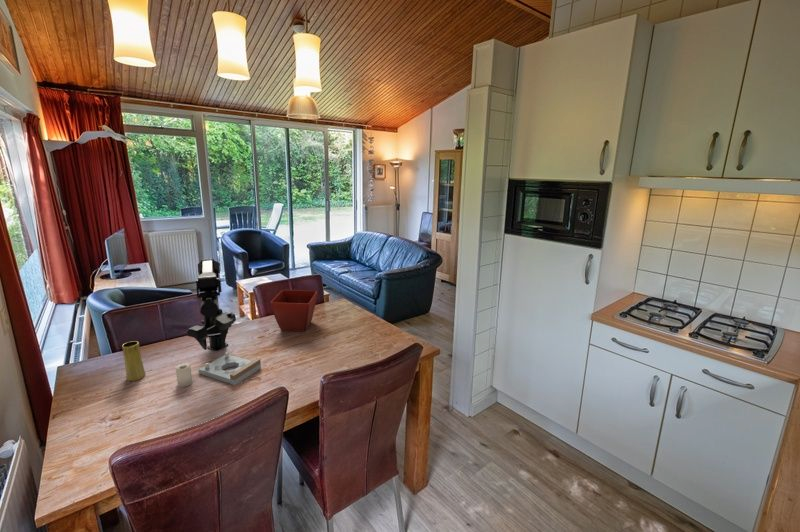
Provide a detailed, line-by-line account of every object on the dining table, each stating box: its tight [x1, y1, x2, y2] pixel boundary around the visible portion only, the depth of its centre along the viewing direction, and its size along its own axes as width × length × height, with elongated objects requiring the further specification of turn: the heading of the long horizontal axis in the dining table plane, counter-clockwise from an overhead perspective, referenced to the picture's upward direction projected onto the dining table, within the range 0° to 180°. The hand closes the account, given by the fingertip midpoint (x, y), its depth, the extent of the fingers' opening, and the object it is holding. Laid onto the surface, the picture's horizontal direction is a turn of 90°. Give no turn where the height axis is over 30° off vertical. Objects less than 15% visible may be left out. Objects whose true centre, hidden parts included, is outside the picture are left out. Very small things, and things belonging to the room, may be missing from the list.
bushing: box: [174, 363, 194, 388], centre depth 144 cm, size 5×5×7 cm
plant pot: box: [270, 289, 318, 332], centre depth 195 cm, size 19×19×17 cm
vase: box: [121, 340, 146, 382], centre depth 146 cm, size 6×6×14 cm
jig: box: [198, 351, 262, 386], centre depth 153 cm, size 19×14×4 cm
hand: (214, 344), depth 148 cm, fingers open, 9 cm apart
